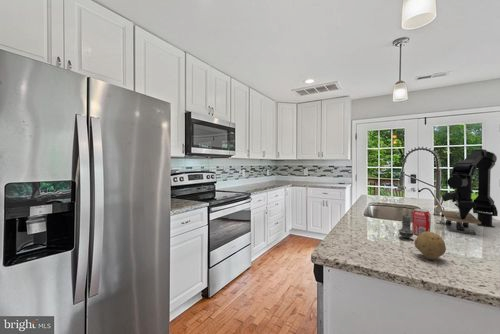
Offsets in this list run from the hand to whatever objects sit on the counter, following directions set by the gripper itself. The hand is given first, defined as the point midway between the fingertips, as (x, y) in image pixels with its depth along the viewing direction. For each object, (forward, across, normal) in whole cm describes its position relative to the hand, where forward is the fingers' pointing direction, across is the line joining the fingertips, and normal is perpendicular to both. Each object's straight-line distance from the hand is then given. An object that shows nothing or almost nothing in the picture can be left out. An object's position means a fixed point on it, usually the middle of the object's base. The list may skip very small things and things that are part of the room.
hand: (462, 219), depth 113 cm
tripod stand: (+7, -8, 0) cm, 11 cm away
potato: (+8, +46, -16) cm, 50 cm away
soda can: (+8, +14, -17) cm, 24 cm away
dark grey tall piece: (+8, +26, -23) cm, 36 cm away
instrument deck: (+1, -8, 0) cm, 8 cm away
